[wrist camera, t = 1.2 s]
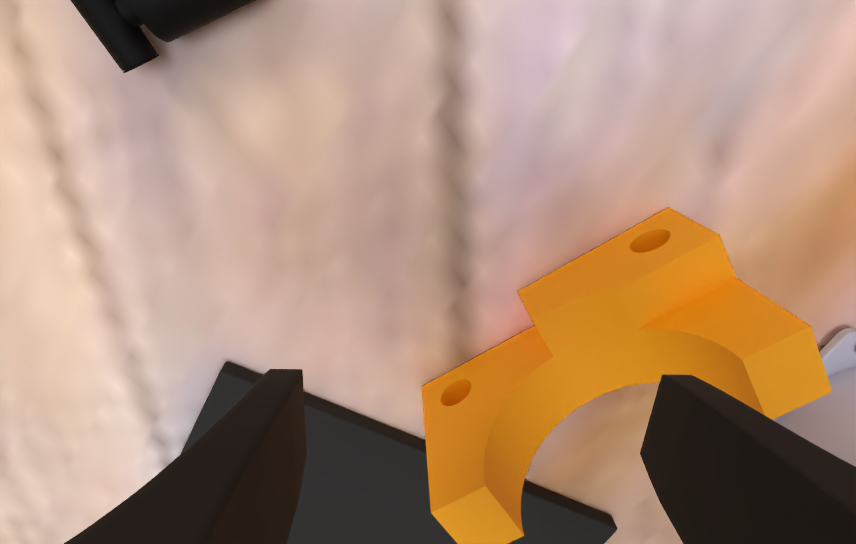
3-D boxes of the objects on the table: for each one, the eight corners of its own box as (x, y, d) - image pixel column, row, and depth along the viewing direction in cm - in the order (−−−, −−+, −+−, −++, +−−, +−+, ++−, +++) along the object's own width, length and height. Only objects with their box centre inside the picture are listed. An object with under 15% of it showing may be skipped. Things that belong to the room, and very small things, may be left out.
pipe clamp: (668, 207, 19) (793, 275, 13) (705, 294, 20) (832, 391, 14) (399, 357, 21) (400, 477, 15) (452, 426, 22) (472, 560, 16)
